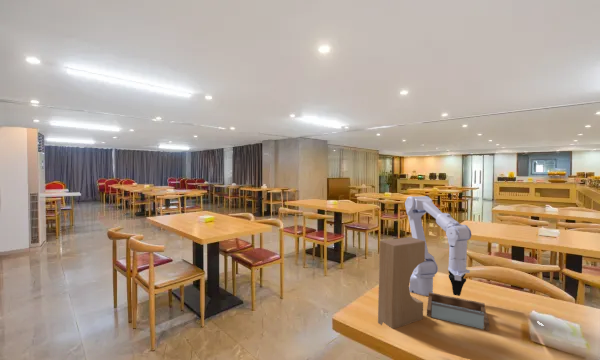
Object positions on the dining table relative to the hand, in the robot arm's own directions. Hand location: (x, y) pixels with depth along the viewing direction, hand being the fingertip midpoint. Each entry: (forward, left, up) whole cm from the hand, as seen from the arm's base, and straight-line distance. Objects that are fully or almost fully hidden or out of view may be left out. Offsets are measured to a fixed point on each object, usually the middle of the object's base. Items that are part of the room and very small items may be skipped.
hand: (456, 292), depth 104 cm
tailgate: (0, -7, -8) cm, 11 cm away
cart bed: (0, -1, -9) cm, 9 cm away
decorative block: (-18, -14, -10) cm, 25 cm away
